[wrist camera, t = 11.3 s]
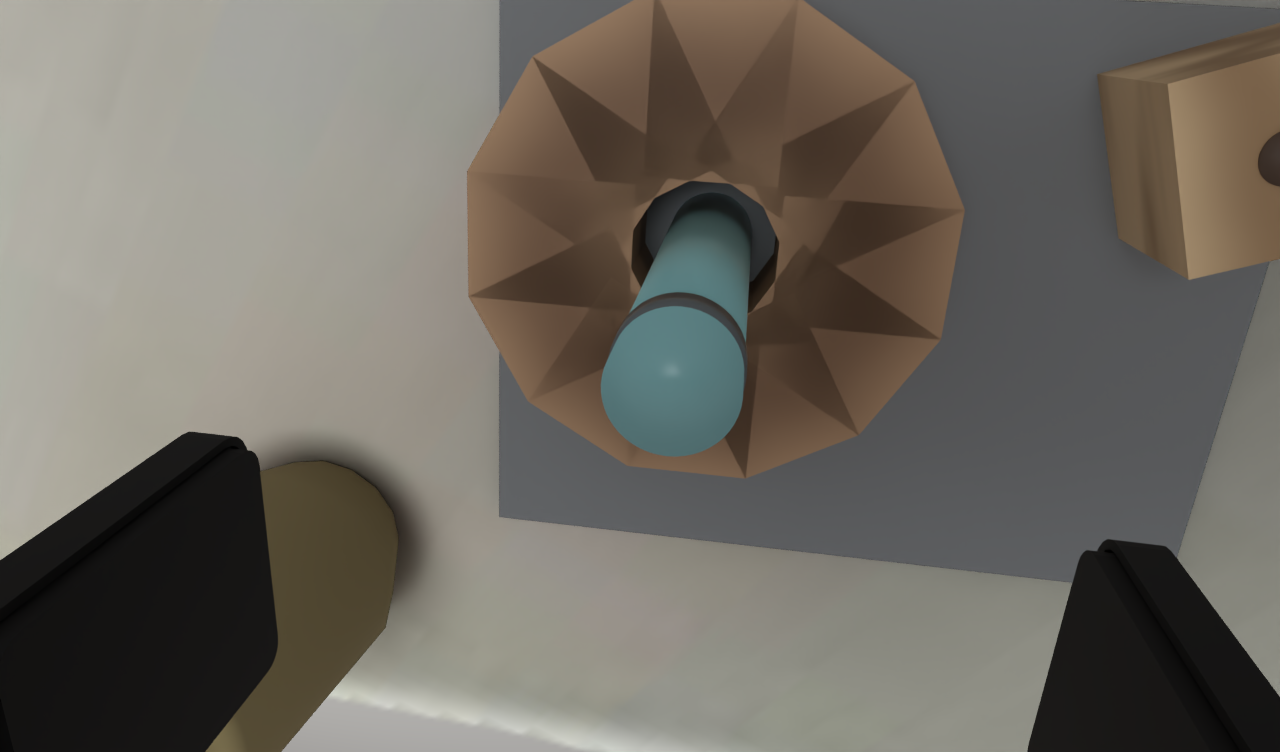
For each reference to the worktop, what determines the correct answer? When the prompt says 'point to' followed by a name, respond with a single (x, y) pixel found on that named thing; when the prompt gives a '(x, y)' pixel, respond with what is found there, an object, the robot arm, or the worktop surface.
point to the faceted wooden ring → (722, 153)
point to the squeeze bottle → (316, 595)
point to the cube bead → (1198, 153)
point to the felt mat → (963, 322)
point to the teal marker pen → (685, 335)
